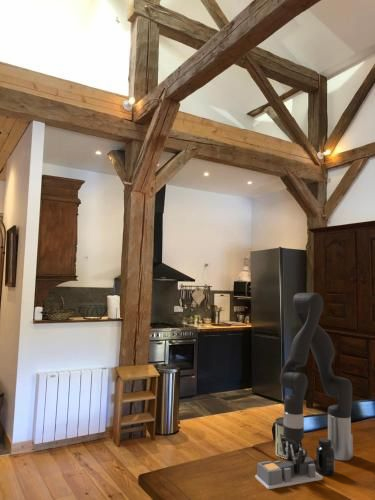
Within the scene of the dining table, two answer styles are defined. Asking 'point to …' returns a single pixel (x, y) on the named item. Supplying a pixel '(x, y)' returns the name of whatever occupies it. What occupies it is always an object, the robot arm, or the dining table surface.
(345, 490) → the dining table surface
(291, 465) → the grey orange bar
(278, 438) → the coffee can
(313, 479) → the white grey holder tray
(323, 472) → the supplement bottle
